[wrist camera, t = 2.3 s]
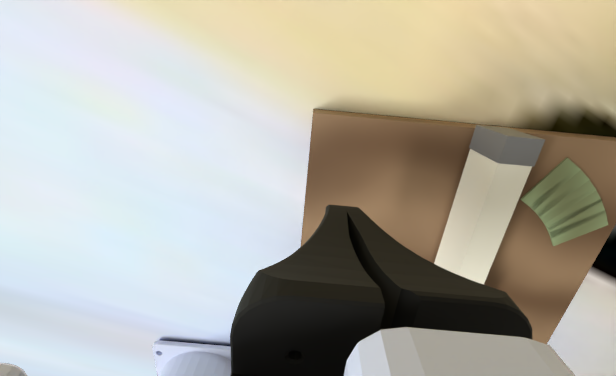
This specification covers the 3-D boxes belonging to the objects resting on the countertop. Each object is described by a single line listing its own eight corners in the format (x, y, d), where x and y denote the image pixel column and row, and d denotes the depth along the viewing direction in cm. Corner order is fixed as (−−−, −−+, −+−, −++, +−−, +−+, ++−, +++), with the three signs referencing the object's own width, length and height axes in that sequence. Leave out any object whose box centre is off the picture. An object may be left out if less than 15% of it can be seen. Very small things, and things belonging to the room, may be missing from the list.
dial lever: (455, 305, 19) (475, 339, 17) (409, 301, 19) (423, 335, 17) (521, 128, 15) (561, 141, 12) (462, 123, 15) (491, 134, 12)
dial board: (506, 375, 24) (518, 395, 23) (290, 357, 24) (288, 376, 22) (631, 138, 16) (663, 146, 15) (313, 108, 16) (313, 113, 15)
